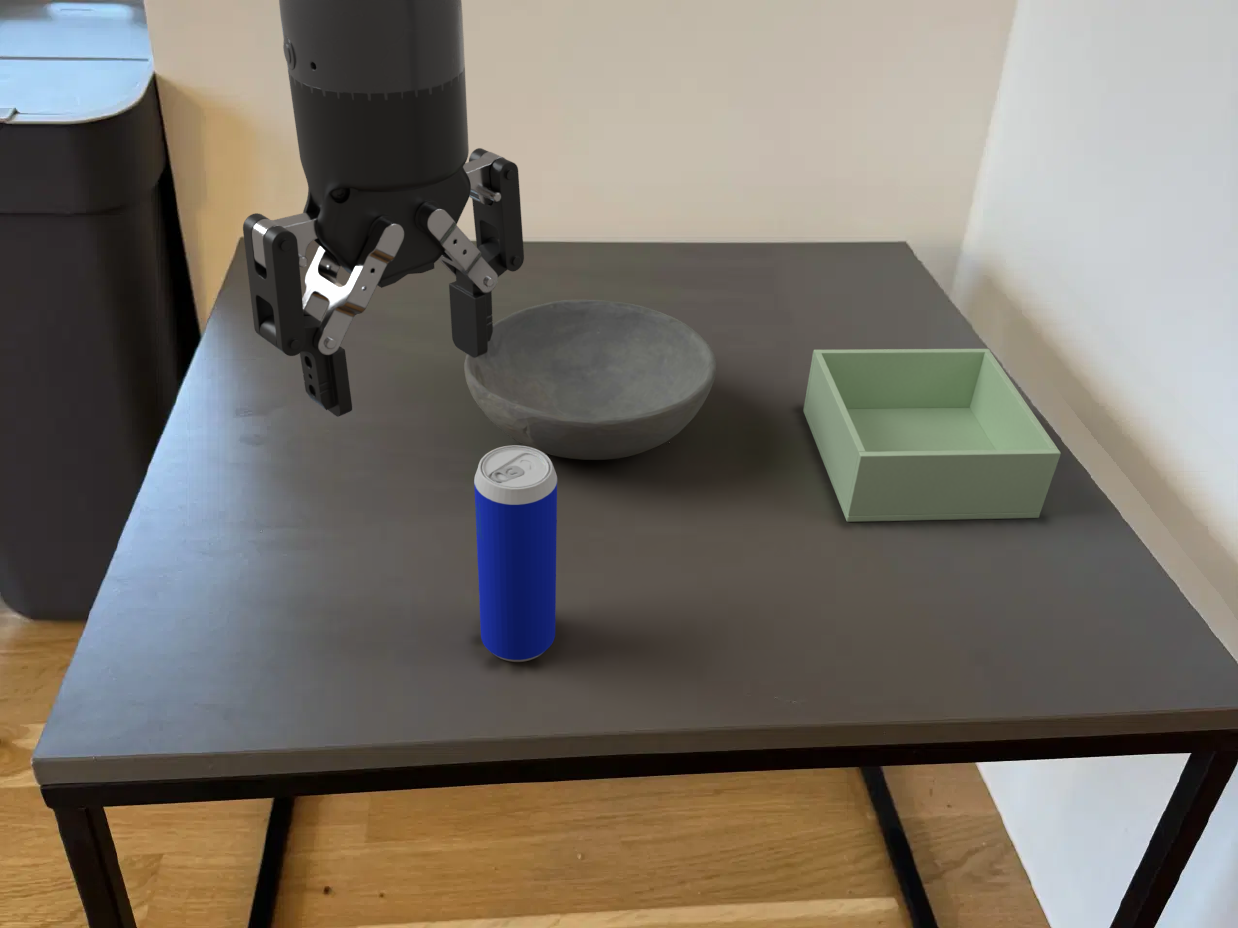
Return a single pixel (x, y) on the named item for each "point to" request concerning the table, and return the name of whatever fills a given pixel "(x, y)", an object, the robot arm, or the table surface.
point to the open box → (926, 435)
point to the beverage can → (516, 551)
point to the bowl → (591, 378)
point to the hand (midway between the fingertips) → (405, 377)
